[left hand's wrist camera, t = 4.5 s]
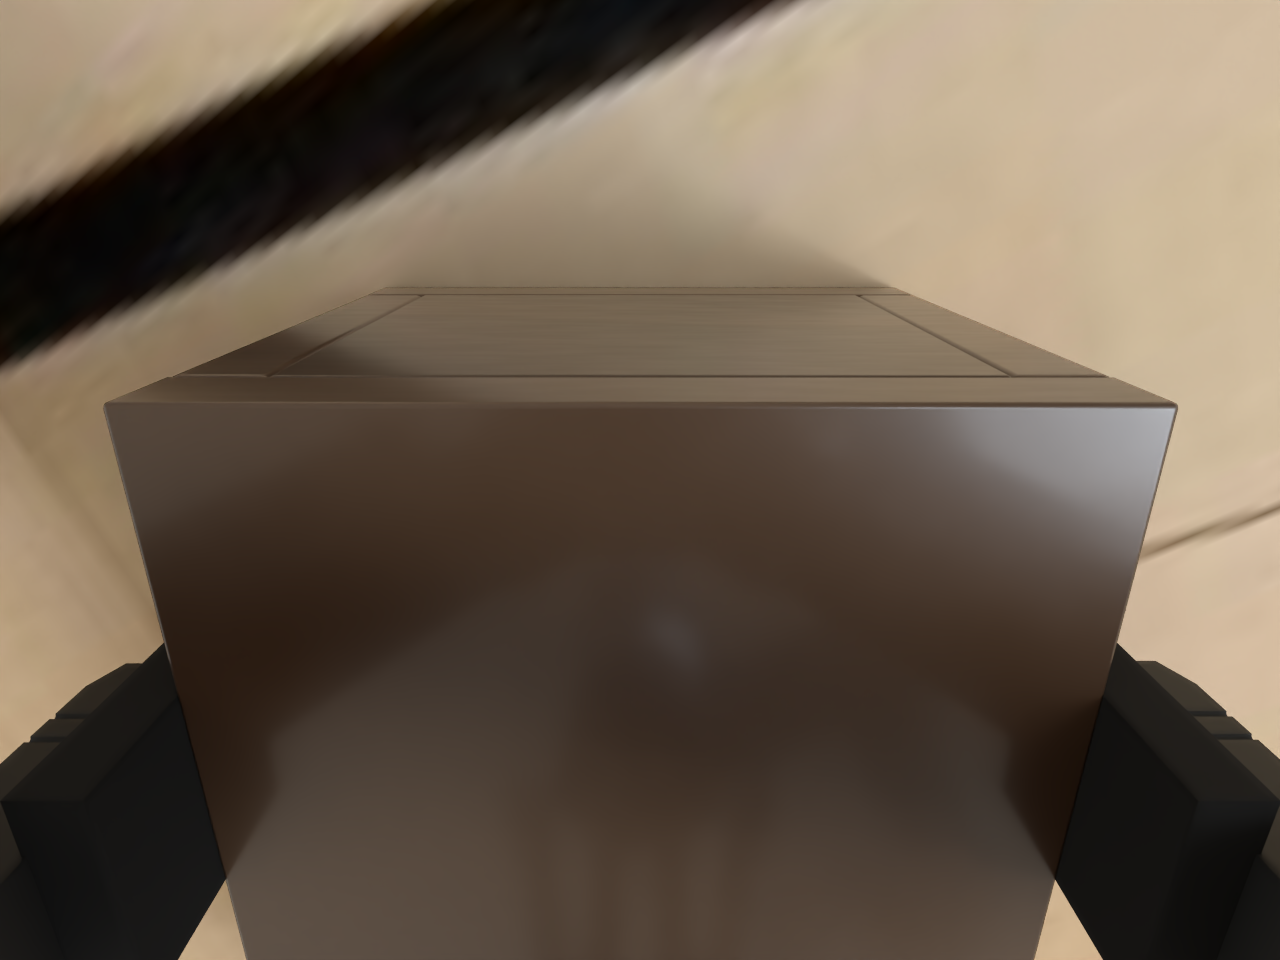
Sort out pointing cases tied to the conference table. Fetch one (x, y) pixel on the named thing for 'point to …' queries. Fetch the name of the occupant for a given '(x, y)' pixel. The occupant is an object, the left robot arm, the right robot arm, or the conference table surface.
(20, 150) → the conference table surface
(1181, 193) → the conference table surface
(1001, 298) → the conference table surface
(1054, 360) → the cabinet
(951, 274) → the conference table surface
